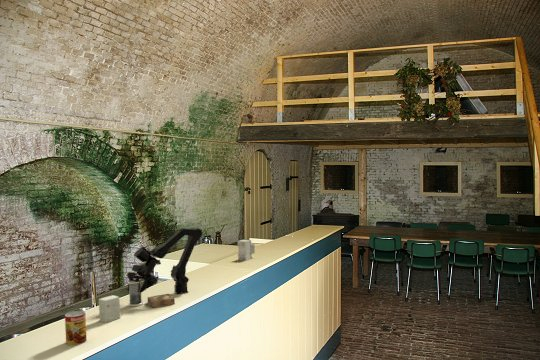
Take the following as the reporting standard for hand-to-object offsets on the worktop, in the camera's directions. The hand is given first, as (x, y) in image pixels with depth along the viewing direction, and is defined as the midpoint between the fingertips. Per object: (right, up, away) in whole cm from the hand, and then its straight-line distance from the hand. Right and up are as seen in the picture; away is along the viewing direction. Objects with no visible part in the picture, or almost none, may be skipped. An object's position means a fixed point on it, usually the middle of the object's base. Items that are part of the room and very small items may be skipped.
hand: (133, 291), depth 236 cm
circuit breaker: (+54, -4, +119) cm, 131 cm away
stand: (+14, -7, +1) cm, 16 cm away
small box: (-5, -8, -23) cm, 24 cm away
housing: (+1, -7, +1) cm, 7 cm away
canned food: (-8, -8, -51) cm, 52 cm away
